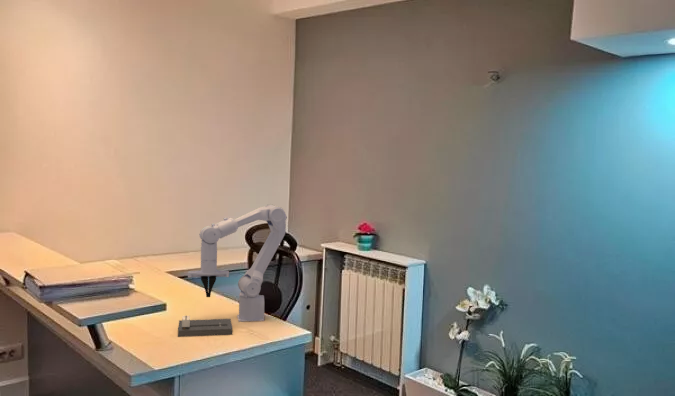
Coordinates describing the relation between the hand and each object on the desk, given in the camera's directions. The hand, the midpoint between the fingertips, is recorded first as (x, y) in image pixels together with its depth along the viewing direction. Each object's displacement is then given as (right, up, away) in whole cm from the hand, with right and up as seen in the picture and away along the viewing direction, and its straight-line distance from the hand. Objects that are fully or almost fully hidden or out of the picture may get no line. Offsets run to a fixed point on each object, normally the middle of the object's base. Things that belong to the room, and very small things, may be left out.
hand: (208, 296), depth 215 cm
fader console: (+1, -10, -9) cm, 14 cm away
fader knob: (-5, -8, -12) cm, 15 cm away
